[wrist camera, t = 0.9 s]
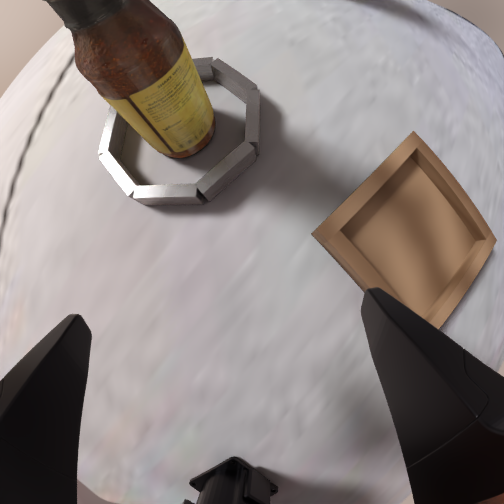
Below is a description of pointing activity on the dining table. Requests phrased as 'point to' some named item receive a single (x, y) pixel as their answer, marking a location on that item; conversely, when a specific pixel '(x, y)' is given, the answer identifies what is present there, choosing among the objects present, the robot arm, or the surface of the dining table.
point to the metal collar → (217, 175)
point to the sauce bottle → (141, 70)
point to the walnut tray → (410, 233)
